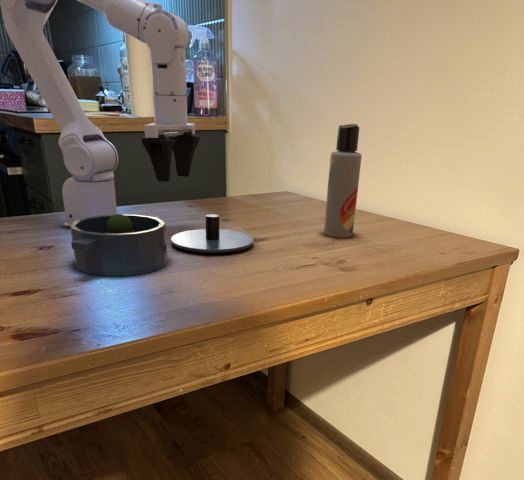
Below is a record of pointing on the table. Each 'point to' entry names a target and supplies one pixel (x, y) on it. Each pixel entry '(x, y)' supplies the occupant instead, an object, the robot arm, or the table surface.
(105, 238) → the pot
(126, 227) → the avocado
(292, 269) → the table surface
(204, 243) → the pot lid
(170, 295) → the table surface
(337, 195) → the lotion bottle
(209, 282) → the table surface
